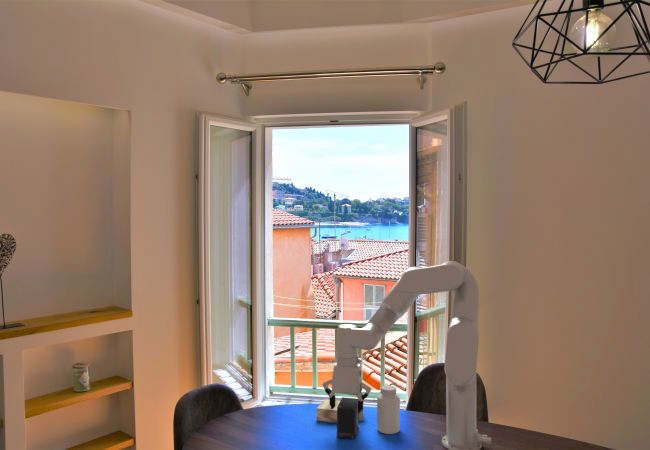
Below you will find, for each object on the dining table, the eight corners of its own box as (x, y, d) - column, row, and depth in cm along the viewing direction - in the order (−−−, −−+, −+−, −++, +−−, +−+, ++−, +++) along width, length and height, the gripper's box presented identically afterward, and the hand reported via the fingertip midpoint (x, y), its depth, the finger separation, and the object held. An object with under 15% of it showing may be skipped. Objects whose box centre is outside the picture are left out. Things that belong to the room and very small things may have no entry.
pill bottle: (397, 436, 175) (397, 392, 175) (374, 433, 177) (374, 389, 177) (402, 427, 182) (401, 385, 182) (379, 424, 185) (379, 382, 185)
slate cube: (363, 415, 194) (362, 402, 194) (363, 420, 189) (363, 407, 189) (349, 415, 194) (349, 402, 194) (349, 420, 189) (349, 407, 189)
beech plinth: (349, 413, 196) (349, 401, 196) (342, 423, 186) (342, 411, 186) (324, 410, 199) (324, 399, 199) (316, 420, 189) (316, 408, 189)
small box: (355, 439, 172) (355, 408, 172) (336, 438, 174) (336, 407, 174) (359, 427, 183) (359, 397, 183) (341, 425, 184) (341, 396, 184)
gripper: (373, 360, 179) (373, 409, 179) (326, 355, 184) (325, 402, 185) (369, 366, 172) (368, 417, 172) (320, 361, 177) (319, 410, 177)
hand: (346, 409), depth 178 cm, fingers open, 9 cm apart
